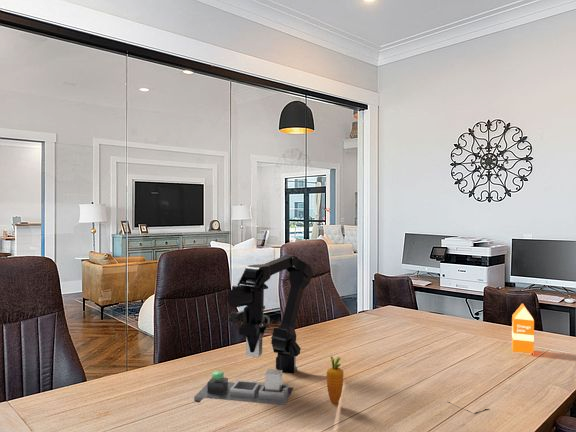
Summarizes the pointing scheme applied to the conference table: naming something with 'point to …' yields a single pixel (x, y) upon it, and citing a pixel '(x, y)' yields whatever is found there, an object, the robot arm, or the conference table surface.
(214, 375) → the button
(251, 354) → the aluminium block
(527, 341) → the orange juice
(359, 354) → the conference table surface
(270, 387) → the block
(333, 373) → the carrot
